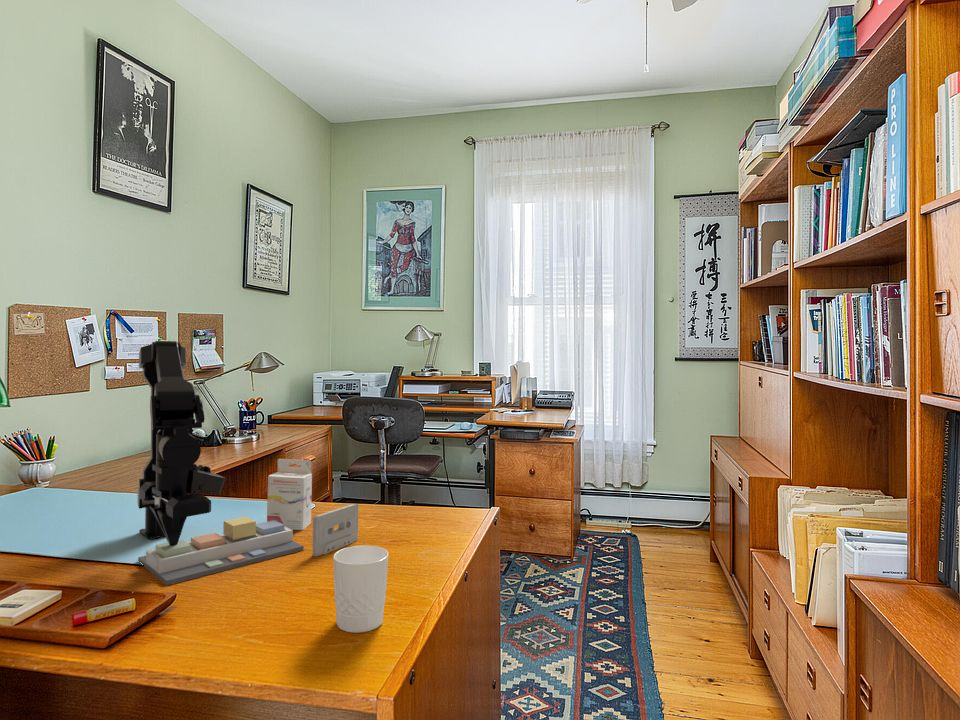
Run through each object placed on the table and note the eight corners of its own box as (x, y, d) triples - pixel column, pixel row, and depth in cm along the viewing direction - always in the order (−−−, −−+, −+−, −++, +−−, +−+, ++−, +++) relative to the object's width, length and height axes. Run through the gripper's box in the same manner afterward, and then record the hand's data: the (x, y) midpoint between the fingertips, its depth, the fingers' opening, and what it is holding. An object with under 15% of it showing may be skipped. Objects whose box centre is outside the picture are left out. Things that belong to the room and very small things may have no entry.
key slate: (253, 537, 117) (253, 524, 117) (273, 532, 120) (274, 520, 120) (263, 542, 114) (263, 529, 114) (284, 537, 117) (284, 524, 117)
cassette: (317, 557, 110) (317, 517, 110) (310, 555, 111) (310, 516, 111) (359, 540, 121) (360, 504, 121) (353, 539, 122) (353, 502, 122)
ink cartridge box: (265, 528, 127) (266, 462, 127) (275, 522, 132) (276, 458, 132) (303, 530, 126) (304, 463, 126) (311, 524, 131) (312, 459, 131)
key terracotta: (190, 551, 108) (190, 537, 108) (214, 546, 111) (215, 532, 111) (200, 557, 105) (200, 543, 105) (224, 551, 108) (224, 538, 108)
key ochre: (223, 534, 112) (223, 520, 112) (245, 529, 115) (245, 516, 115) (233, 539, 109) (233, 526, 109) (255, 534, 112) (255, 521, 112)
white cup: (337, 610, 88) (338, 545, 88) (389, 609, 89) (390, 544, 89) (327, 636, 80) (328, 564, 80) (385, 634, 81) (386, 563, 81)
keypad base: (138, 561, 106) (138, 545, 106) (267, 532, 124) (267, 518, 124) (166, 585, 96) (166, 567, 96) (303, 550, 114) (303, 534, 114)
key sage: (155, 559, 104) (155, 544, 104) (181, 553, 107) (181, 539, 107) (164, 565, 101) (164, 551, 101) (190, 559, 104) (190, 545, 104)
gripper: (241, 460, 103) (240, 547, 103) (200, 447, 116) (199, 524, 116) (174, 469, 95) (173, 563, 95) (138, 453, 108) (137, 536, 108)
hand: (173, 545), depth 104 cm, fingers closed, pressing on key sage
